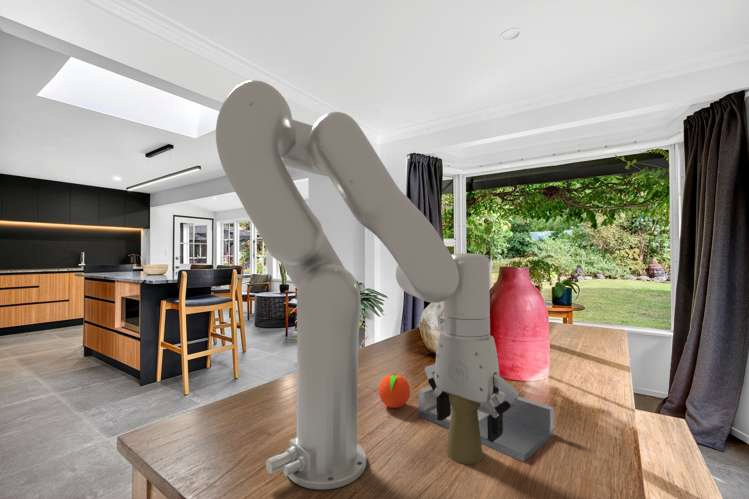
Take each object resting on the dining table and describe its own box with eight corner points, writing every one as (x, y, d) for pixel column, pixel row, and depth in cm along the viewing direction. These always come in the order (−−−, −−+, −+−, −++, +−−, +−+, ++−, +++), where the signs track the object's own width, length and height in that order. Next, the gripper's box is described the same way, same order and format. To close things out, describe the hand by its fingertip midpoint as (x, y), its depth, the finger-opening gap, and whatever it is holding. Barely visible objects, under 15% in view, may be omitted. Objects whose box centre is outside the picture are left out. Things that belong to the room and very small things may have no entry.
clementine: (407, 417, 72) (407, 382, 72) (374, 414, 74) (374, 379, 74) (411, 401, 80) (412, 370, 80) (381, 398, 82) (382, 367, 82)
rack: (524, 462, 58) (524, 429, 58) (418, 415, 73) (418, 390, 73) (554, 434, 67) (554, 406, 67) (454, 398, 82) (454, 375, 82)
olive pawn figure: (458, 439, 64) (459, 378, 64) (489, 453, 60) (490, 388, 60) (438, 452, 60) (439, 387, 60) (470, 468, 56) (471, 398, 56)
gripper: (412, 322, 64) (414, 418, 64) (505, 339, 51) (506, 458, 51) (438, 316, 69) (439, 405, 69) (527, 330, 56) (528, 438, 56)
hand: (467, 427), depth 60 cm, fingers open, 9 cm apart
